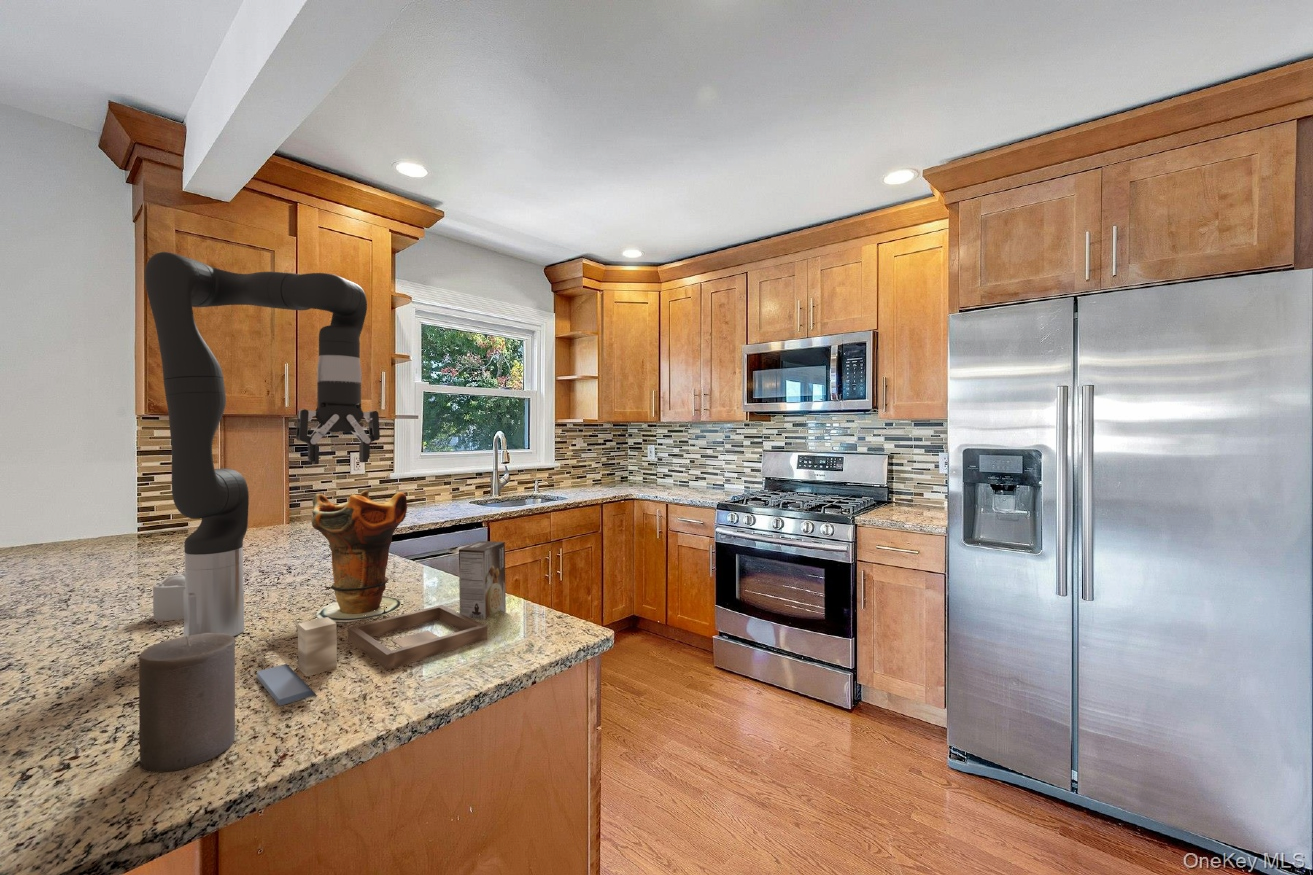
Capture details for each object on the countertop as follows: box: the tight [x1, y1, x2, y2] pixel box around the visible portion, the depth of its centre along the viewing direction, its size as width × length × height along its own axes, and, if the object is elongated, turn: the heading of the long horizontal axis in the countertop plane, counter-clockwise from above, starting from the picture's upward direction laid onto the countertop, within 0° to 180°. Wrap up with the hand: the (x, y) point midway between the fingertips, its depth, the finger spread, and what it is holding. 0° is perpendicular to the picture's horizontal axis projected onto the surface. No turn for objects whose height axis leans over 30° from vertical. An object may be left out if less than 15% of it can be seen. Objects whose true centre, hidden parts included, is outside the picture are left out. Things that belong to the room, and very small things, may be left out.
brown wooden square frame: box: [347, 604, 488, 671], centre depth 107 cm, size 18×18×4 cm
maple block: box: [297, 617, 338, 677], centre depth 95 cm, size 4×4×8 cm
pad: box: [256, 663, 317, 707], centre depth 95 cm, size 14×14×1 cm
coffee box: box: [458, 540, 507, 620], centre depth 123 cm, size 9×6×16 cm
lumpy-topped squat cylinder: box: [152, 571, 185, 621], centre depth 128 cm, size 10×13×9 cm
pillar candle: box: [138, 633, 236, 773], centre depth 73 cm, size 10×10×15 cm
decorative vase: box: [311, 489, 408, 623], centre depth 130 cm, size 21×23×28 cm
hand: (339, 463), depth 111 cm, fingers open, 8 cm apart
